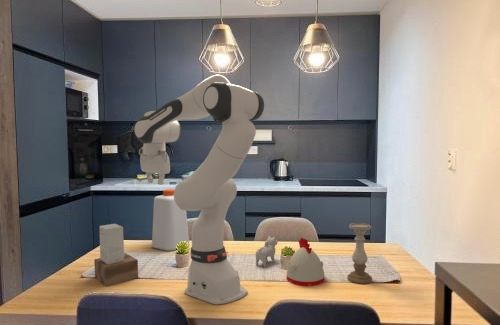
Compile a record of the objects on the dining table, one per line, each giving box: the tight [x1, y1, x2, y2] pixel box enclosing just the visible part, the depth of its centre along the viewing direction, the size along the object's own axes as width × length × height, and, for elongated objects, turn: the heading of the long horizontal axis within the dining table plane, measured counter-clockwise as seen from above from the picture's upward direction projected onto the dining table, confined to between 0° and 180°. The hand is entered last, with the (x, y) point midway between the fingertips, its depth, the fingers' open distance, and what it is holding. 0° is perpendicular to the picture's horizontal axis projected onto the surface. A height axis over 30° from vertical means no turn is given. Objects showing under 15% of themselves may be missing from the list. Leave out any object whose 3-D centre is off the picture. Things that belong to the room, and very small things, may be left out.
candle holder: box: [347, 222, 373, 285], centre depth 134 cm, size 9×9×20 cm
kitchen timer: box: [286, 237, 325, 287], centre depth 136 cm, size 14×14×15 cm
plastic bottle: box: [151, 188, 190, 252], centre depth 180 cm, size 15×15×28 cm
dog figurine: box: [255, 235, 279, 268], centre depth 155 cm, size 5×13×11 cm, turn 144°
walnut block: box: [93, 252, 139, 287], centre depth 139 cm, size 12×12×7 cm
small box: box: [99, 223, 125, 264], centre depth 138 cm, size 8×6×13 cm
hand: (155, 183), depth 153 cm, fingers open, 8 cm apart
